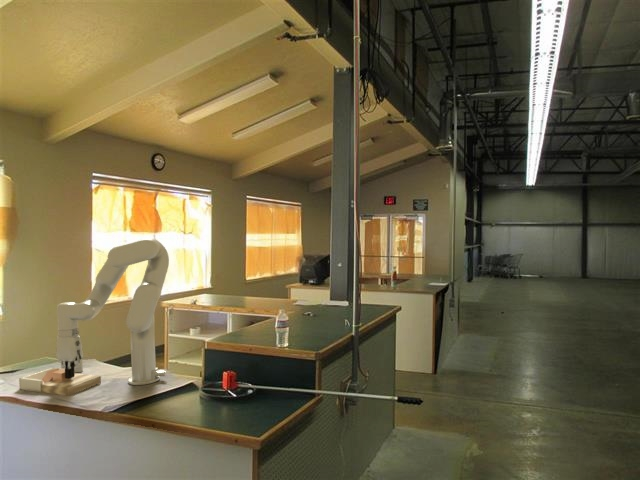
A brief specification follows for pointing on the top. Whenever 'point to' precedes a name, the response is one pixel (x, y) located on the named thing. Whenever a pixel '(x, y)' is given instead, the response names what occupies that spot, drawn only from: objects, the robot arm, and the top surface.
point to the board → (71, 384)
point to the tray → (34, 380)
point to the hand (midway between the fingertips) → (69, 377)
